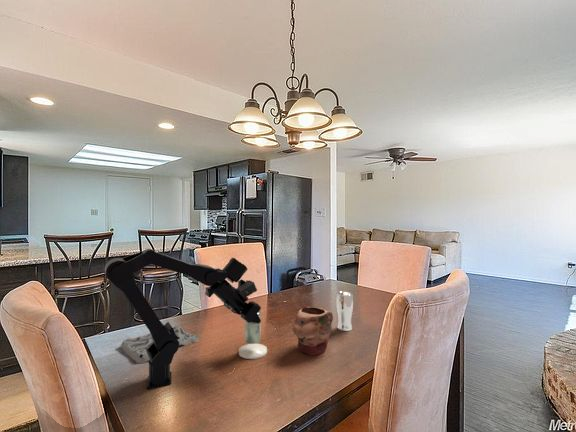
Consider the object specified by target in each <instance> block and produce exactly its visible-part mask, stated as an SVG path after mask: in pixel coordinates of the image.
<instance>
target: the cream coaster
mask: <svg viewBox="0 0 576 432" xmlns="http://www.w3.org/2000/svg"><path fill="white" fill-rule="evenodd" d="M267 353H268V348H267V346H265V344H261V343H255V344H248V343H246V344H244V345H242V346H241V347H239V349H238V356H239V357H241V358H243V359H246V360H257V359H261V358H263V357H265V356H266V355H267Z"/></svg>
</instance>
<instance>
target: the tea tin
mask: <svg viewBox="0 0 576 432" xmlns="http://www.w3.org/2000/svg"><path fill="white" fill-rule="evenodd" d="M257 314H258V316H259V318H260V319H261V315H262V311H261V310H260V311H259V312H258V313H257ZM261 322H262V321H261ZM261 322H260V323H255V322H250V323H248V322H247V321H245V320H244V342H245V343H246V344H259V343H260V342H261Z"/></svg>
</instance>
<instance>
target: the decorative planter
mask: <svg viewBox="0 0 576 432" xmlns="http://www.w3.org/2000/svg"><path fill="white" fill-rule="evenodd" d="M333 320H334V316H333V313H332V311H330V310H326V309H325V308H321V307H316V306H303V308H301V309H299V310H298V312H297V315H296V317H295V320H293V322H292V332H293V333H294V335H295V336H296V337H297V347H298V350H299V351H300V352H302V353H305V354H307V355H311V356H316V355H320V354H323V353H324V352H325V351H326V350H327V348H328V343H329V338H330V334H331V332H332V327H333V325H332V324H333Z"/></svg>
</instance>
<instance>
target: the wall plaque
mask: <svg viewBox="0 0 576 432" xmlns="http://www.w3.org/2000/svg"><path fill="white" fill-rule="evenodd" d="M173 329H174V331H175V332H176V334H177V335H178V336H179V338H180V339H177V340H178V341H179V347H180V346H187V345H190V344H193V343H197V342H199V340H200V339H199V336H198V335H197V334H192V333H190V332H187V331H185V330H184V329H183V328H182V326H180V325H174V327H173ZM152 343H153V339H152V337H151V334H150V333H147V334H145V335H142V336H141V335H140V336H139V335H138V337H133V338H132V337H131V338H129V337H128V338H126V339H124V340H123V341H122V342H121V344H120V346H121V350H122V351H123V352H124V353H125V354H126V355H127V356H129V357H130V358H131V359H132V360H133V361H135V363H137V364H146V363H147V362H149V360H150V359H149V357H148V354H147V352H146V350H147V349H148V348H149V347H150V345H151V344H152Z"/></svg>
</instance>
